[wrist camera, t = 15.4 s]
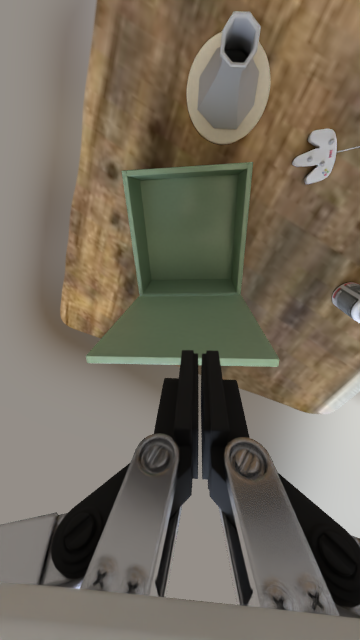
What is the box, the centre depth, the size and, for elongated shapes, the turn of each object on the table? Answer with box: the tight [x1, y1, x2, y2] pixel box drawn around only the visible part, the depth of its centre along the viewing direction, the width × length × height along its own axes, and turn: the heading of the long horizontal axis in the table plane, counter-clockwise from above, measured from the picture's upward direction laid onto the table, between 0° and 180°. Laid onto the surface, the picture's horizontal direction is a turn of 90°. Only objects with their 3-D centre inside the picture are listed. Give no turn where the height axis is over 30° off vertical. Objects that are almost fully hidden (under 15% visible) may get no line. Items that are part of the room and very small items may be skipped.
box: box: [122, 162, 253, 296], centre depth 32 cm, size 16×15×7 cm
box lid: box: [86, 295, 279, 367], centre depth 25 cm, size 17×15×1 cm
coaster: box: [187, 32, 270, 145], centre depth 27 cm, size 10×10×1 cm
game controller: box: [292, 129, 360, 184], centre depth 27 cm, size 6×12×3 cm, turn 118°
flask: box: [197, 11, 261, 129], centre depth 22 cm, size 7×7×10 cm
